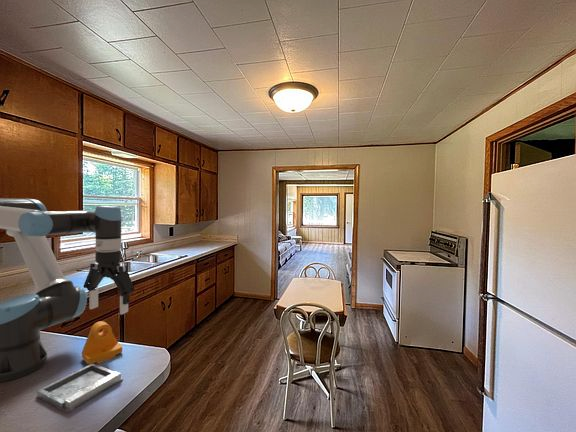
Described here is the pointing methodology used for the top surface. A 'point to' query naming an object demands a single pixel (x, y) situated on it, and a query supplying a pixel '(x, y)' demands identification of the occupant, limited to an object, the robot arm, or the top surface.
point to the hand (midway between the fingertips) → (108, 310)
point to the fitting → (79, 387)
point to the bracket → (100, 344)
